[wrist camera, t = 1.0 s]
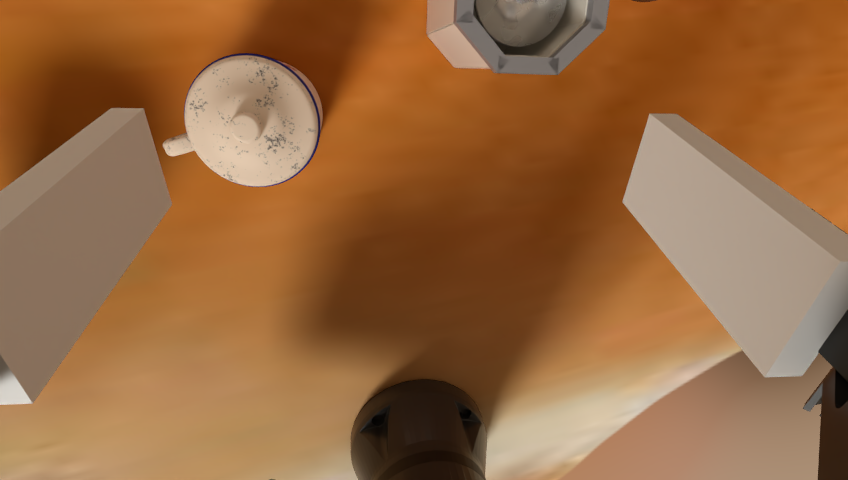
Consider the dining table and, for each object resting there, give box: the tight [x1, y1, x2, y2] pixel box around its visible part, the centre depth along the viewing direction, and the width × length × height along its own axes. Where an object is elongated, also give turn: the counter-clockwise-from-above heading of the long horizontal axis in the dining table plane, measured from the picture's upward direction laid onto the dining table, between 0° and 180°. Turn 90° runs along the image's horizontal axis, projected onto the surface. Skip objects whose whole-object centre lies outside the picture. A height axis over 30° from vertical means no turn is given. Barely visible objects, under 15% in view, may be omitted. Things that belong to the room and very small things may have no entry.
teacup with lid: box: [163, 53, 323, 187], centre depth 36 cm, size 12×9×12 cm
